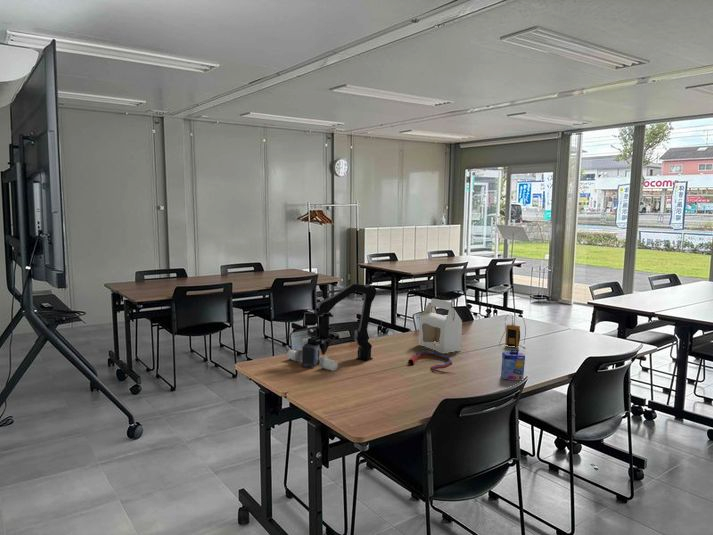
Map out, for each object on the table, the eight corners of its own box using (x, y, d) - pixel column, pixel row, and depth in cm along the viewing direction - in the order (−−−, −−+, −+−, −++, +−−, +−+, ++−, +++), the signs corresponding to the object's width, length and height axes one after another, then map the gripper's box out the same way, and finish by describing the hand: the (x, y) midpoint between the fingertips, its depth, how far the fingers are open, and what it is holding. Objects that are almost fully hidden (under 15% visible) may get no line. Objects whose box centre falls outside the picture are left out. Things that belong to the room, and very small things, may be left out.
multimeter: (528, 346, 307) (530, 313, 305) (523, 349, 299) (525, 315, 297) (503, 342, 315) (505, 310, 313) (498, 345, 307) (500, 312, 305)
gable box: (461, 351, 293) (463, 302, 290) (443, 354, 286) (446, 304, 283) (435, 342, 312) (436, 296, 309) (418, 345, 305) (419, 298, 301)
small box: (314, 368, 255) (314, 347, 254) (301, 367, 257) (301, 346, 255) (320, 362, 266) (320, 342, 264) (307, 361, 267) (308, 341, 266)
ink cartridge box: (503, 380, 244) (504, 350, 242) (500, 376, 249) (501, 347, 248) (524, 380, 243) (526, 350, 242) (520, 377, 249) (522, 347, 247)
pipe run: (338, 369, 254) (338, 357, 254) (330, 372, 250) (330, 360, 249) (294, 357, 273) (294, 346, 272) (286, 360, 268) (286, 349, 267)
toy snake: (475, 370, 262) (475, 360, 262) (449, 376, 247) (449, 366, 246) (426, 357, 284) (426, 348, 284) (399, 363, 269) (400, 353, 269)
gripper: (324, 320, 278) (323, 348, 280) (299, 325, 264) (299, 355, 266) (340, 323, 272) (339, 352, 273) (315, 329, 257) (315, 359, 259)
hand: (323, 354), depth 268 cm, fingers closed
